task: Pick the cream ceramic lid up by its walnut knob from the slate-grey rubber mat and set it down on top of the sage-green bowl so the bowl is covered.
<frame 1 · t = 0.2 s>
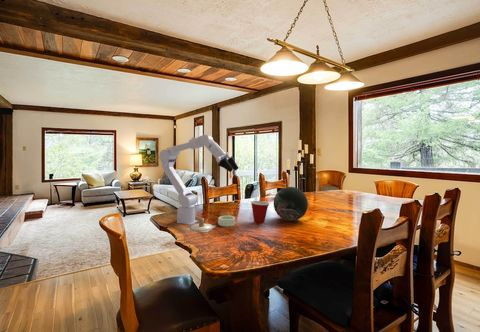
hand: (234, 169, 139), 31 cm above the table, tool tilted 45°, fingers open, 7 cm apart
decorative sphere: (290, 220, 157), on the table
lid: (201, 227, 139), resting on mat
plastic cup: (259, 222, 152), on the table
mat: (201, 228, 139), on the table
bowl: (226, 224, 146), on the table
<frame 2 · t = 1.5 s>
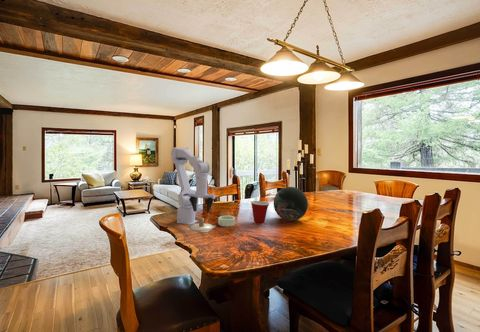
hand: (201, 211, 138), 9 cm above the table, tool pointing down, fingers open, 7 cm apart
nothing on the table moved.
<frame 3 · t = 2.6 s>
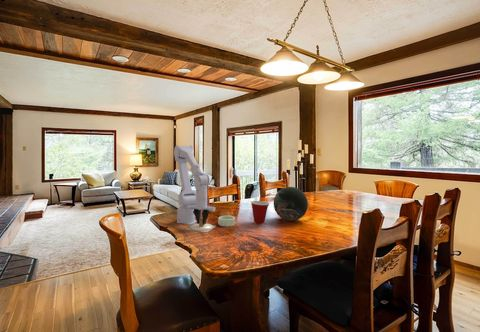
hand: (201, 223, 139), 3 cm above the table, tool pointing down, fingers closed on lid, 3 cm apart
lid: (201, 227, 139), resting on mat, touching gripper
everything else where it was.
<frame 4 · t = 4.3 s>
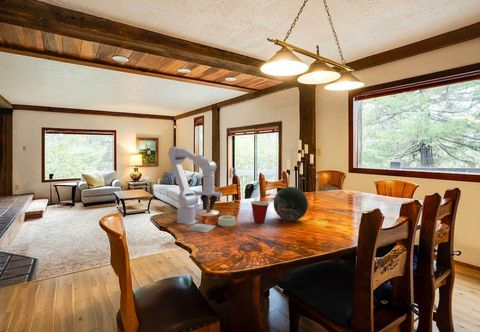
hand: (208, 209, 140), 10 cm above the table, tool pointing down, fingers closed on lid, 3 cm apart
lid: (208, 213, 140), point 8 cm above the table, touching gripper
everything else where it was.
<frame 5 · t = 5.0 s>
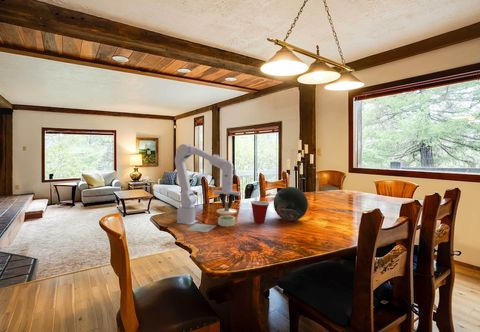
hand: (226, 207, 146), 10 cm above the table, tool pointing down, fingers closed on lid, 3 cm apart
lid: (226, 211, 145), point 7 cm above the table, touching gripper
everything else where it was.
when the fingers open (7 cm above the table, at t = 5.6 s): lid stays where it is, resting on bowl.
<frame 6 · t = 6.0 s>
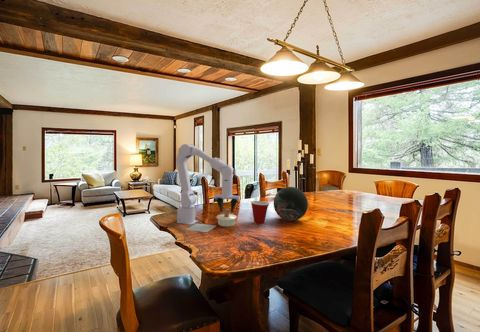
hand: (226, 212, 146), 7 cm above the table, tool pointing down, fingers open, 6 cm apart
lid: (226, 217, 146), point 4 cm above the table, touching bowl
everything else where it was.
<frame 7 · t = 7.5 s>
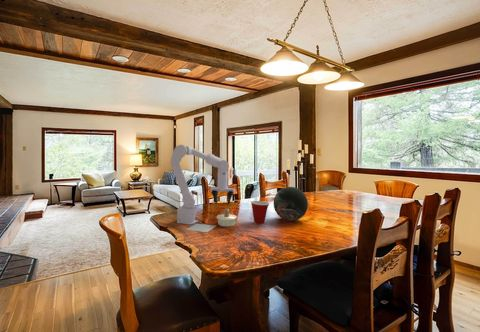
hand: (222, 203, 155), 10 cm above the table, tool pointing down, fingers open, 7 cm apart
nothing on the table moved.
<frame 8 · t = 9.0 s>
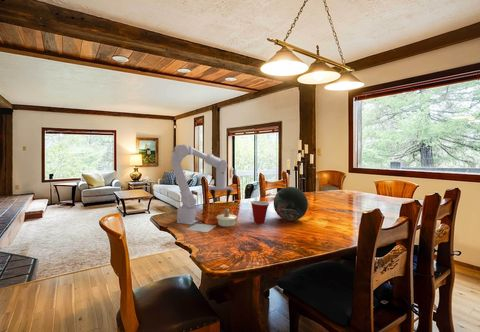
hand: (220, 202, 158), 10 cm above the table, tool pointing down, fingers open, 7 cm apart
nothing on the table moved.
at the end: lid 0.3 cm off-centre on the bowl, point 4.0 cm above the bowl's base; lid tilted 0°; the gripper is holding nothing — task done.
